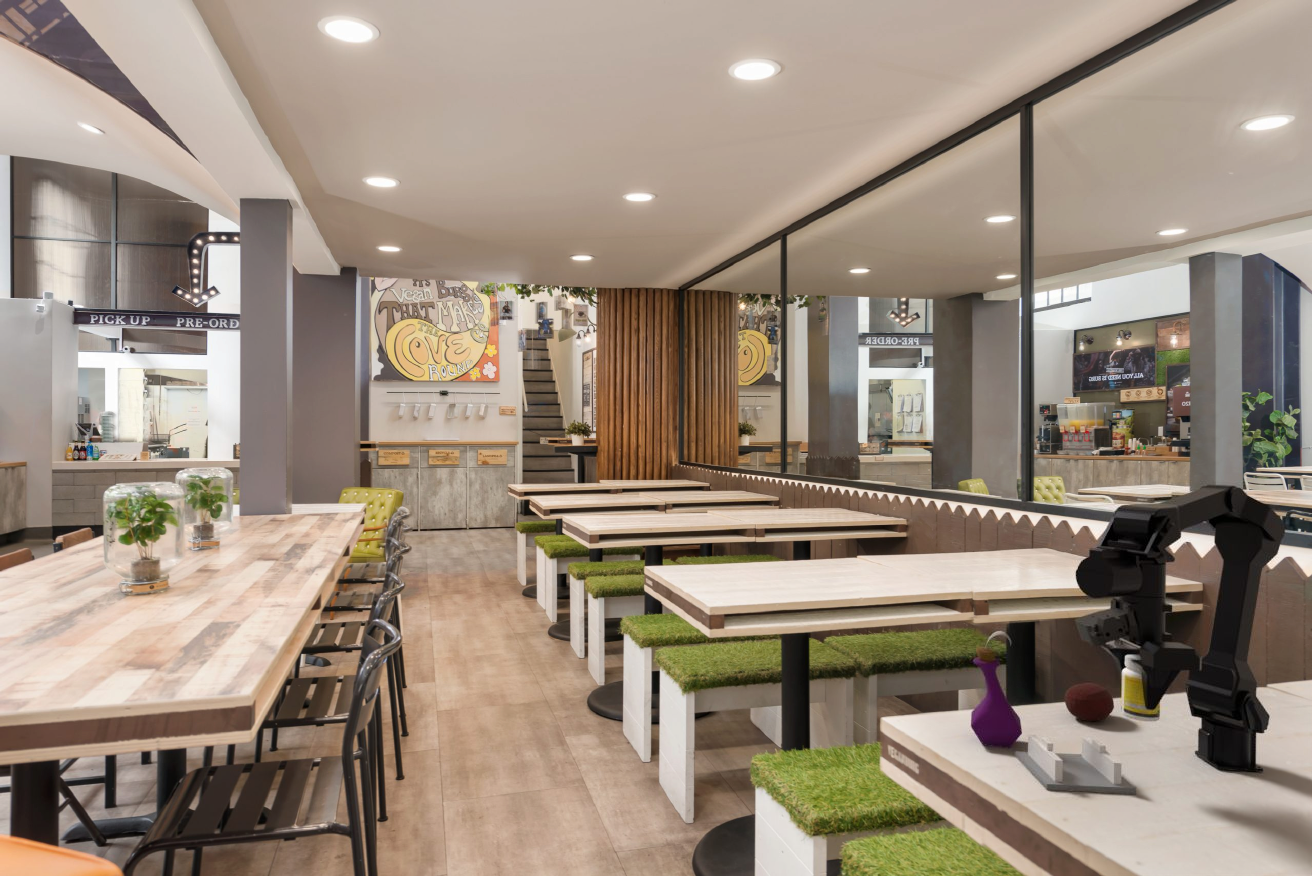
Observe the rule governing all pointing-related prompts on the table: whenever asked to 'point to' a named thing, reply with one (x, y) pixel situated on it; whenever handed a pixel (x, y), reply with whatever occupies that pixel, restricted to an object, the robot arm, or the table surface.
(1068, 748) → the table surface
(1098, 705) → the potato
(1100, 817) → the table surface
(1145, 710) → the supplement bottle
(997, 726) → the purple potion bottle
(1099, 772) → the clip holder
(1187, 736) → the table surface
